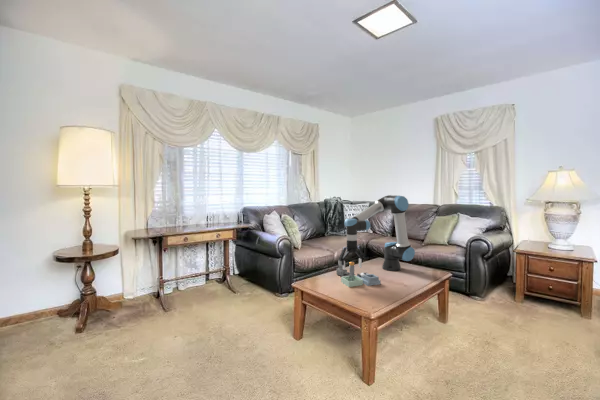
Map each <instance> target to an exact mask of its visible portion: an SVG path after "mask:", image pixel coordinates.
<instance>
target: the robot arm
mask: <svg viewBox="0 0 600 400" xmlns="http://www.w3.org/2000/svg"><path fill="white" fill-rule="evenodd" d="M408 208H409V200H408V198H407V197H405V196H404V195H392V194H390V195H389V194H388V195H385V196H383V197H380V198H379V199H378V200H376V201H374V203H373V204H371V205H370V206H369V207H367V208H366V209H363V210H362V211H361V212H359V213H357V214H356V215H354V216H353V217H351V218H346V219H345V220H344V223H343V224H344V225H343V226H344V227H345V229H346V246H343V247H342V251H341V253H340V256H339V257H338V260H341V263H342V265H343V270H345V269H346V259H347V257H348V255H349V254H352V253H354V254H356V255H357V256H358V267H359V268H360V269H362V268H363V267H362V266H363V265H362V264H363V259H365V258H366V256H365V254H364V252H363V250H362V246H361V245H358V232H362V231H368V230H370V228H371V222H370V221H369V219H370V218H371V217H373V216H375V215H376V214H377V213H379V212H383V211H385V210H386V211H387V210H390V213H391V215H393V220H394V227H395V230H394V231H395V234H396V236H395V237H396V241H389V242H385V243H384V260H383V262H382V265H381V266H382V269H383V270H385V271H392V272H397V271H401V268H402V267H401V264H400V261H401V260H402V261H404V262H405V261H406V262H410V261H412V260H413V259H414V257H415V254H416V252H415V249H414V247H412V246H411V245H412V244H411V242H409V238H408V232H407V231H408V230H407V223H406V214H405V213H406V212H407V210H408ZM357 249H358V250H357Z"/></svg>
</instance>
